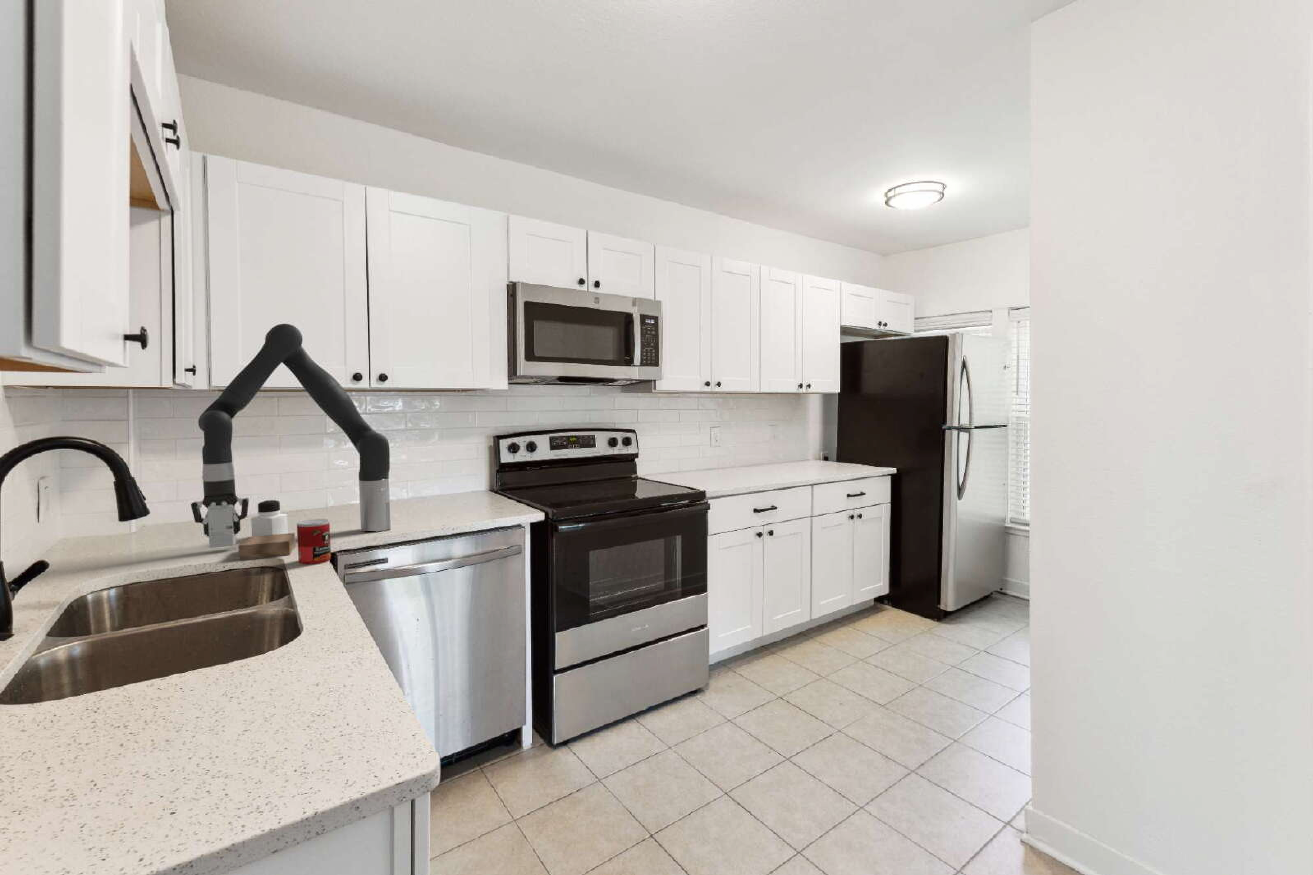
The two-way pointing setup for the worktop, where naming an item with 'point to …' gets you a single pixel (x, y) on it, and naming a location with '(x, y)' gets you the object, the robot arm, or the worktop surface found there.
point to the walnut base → (267, 546)
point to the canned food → (313, 541)
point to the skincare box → (221, 526)
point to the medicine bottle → (269, 519)
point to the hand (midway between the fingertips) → (222, 534)
